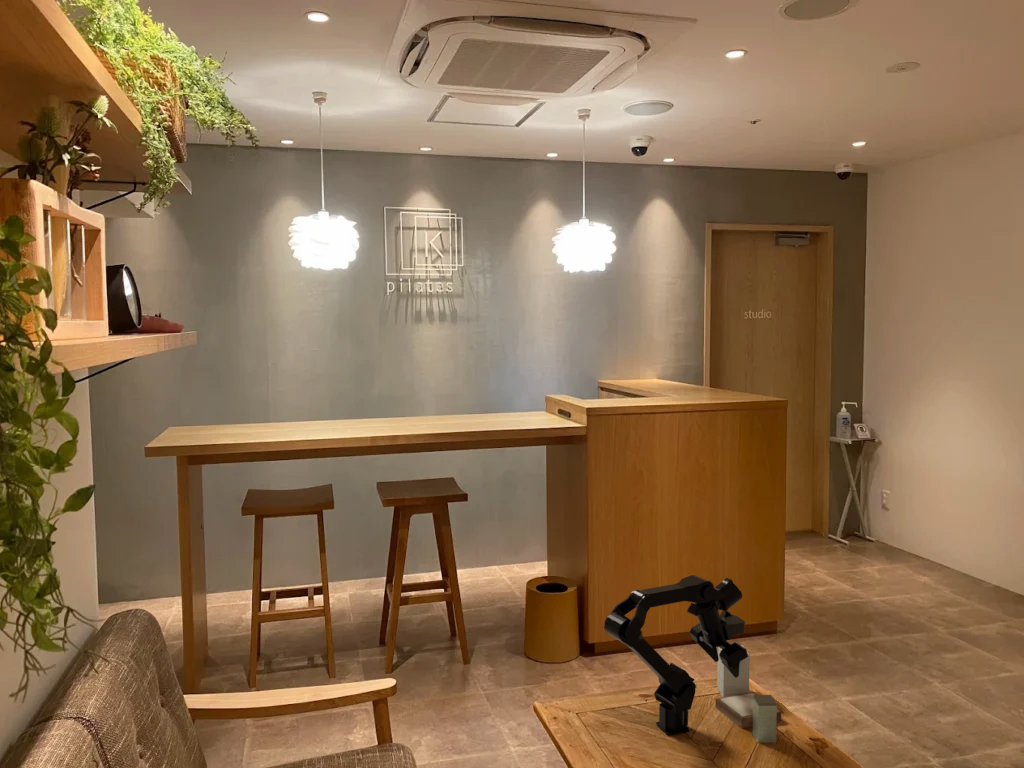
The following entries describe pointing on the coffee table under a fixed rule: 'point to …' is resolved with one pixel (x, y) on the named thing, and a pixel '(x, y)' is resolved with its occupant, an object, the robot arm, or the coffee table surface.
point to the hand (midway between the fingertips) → (726, 668)
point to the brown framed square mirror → (739, 708)
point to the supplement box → (733, 678)
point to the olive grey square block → (764, 718)
